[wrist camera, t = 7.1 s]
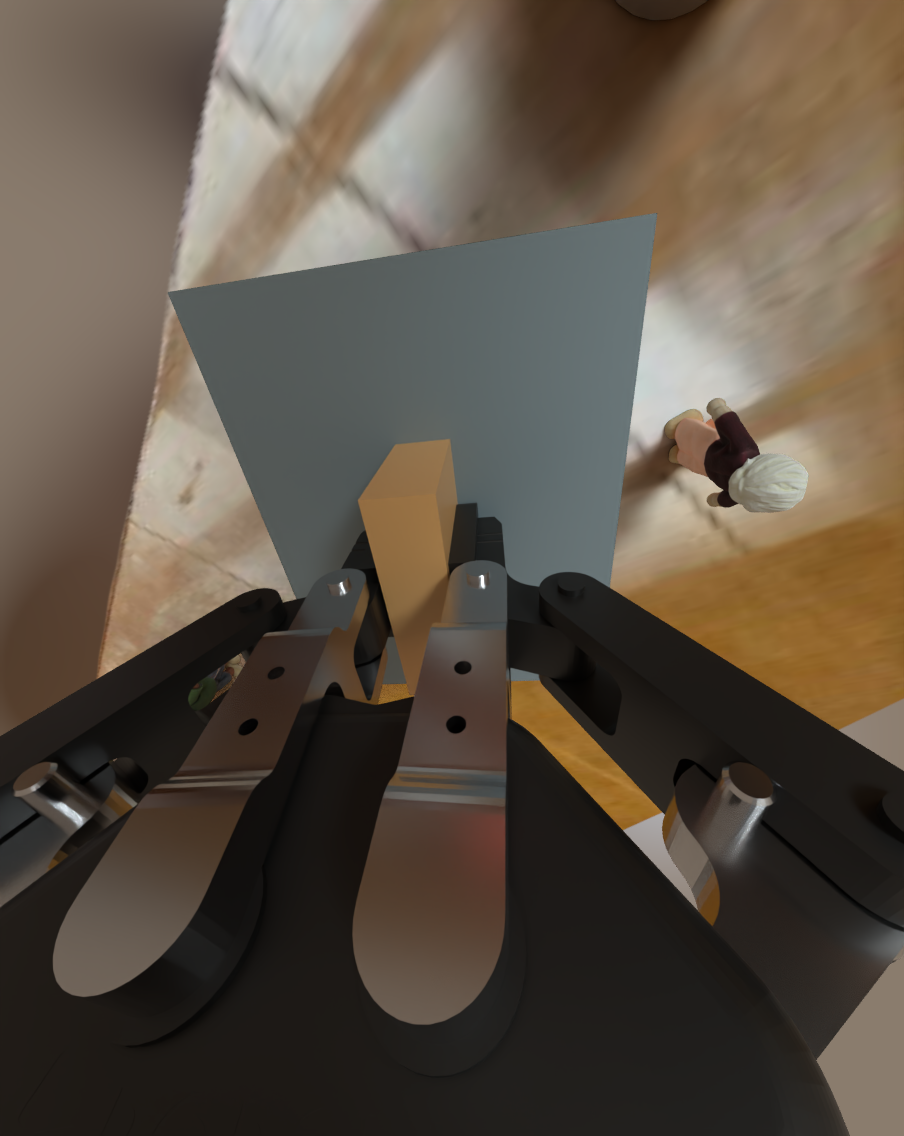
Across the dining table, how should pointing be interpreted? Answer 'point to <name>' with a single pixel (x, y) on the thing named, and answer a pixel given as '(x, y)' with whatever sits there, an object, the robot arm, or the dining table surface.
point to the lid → (434, 407)
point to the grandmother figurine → (735, 461)
